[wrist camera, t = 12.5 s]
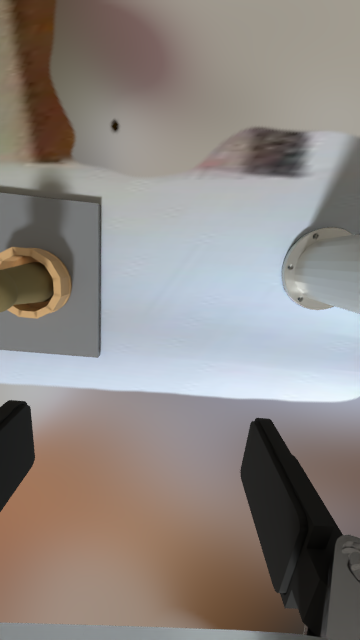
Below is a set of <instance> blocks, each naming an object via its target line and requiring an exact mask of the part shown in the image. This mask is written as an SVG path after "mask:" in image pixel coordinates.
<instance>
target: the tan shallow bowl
mask: <svg viewBox="0 0 360 640" xmlns="http://www.w3.org/2000/svg"><path fill="white" fill-rule="evenodd" d="M31 262H40V263H42V264H43V265H45V267H46V268H47V270H48V272H49V273H50V275H51V277H52V278H53V287H54V295H53V297H52V298H51V300H50V301H46V302H38V303H27V304H17V305H13V306H12V307H11V308H9V309H7V310H8V311H10V312H11V313H13V314H15V315H16V316H18V317H25V318H36V319H37V318H40V317H42V316H44V315H47V314H49V313H52V312H55V311H57V310H59V309H60V308H62V307H63V306H64V305H65V304H66V303H67V301H68V300H69V298H70V295H71V291H72V280H71V276H70V273H69V271H68V269H67V267H66V266H65V264H64V263H63V262H62V261H61V260H60V259H59V258H58V257H57V256H55V255H54V254H52V253H51V252H49V251H46V250H43V249H39V248H22V247H11V248H9V249H7V250H5V251H3V252H1V253H0V270H2V269H6V268H11V267H15V266H19V265H23V264H27V263H31Z"/></svg>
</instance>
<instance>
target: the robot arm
mask: <svg viewBox="0 0 360 640" xmlns="http://www.w3.org/2000/svg"><path fill="white" fill-rule="evenodd" d="M288 265H289V268H288ZM282 282H283V286H284V289H285V291H286V293H287V295H288V296H289V297H290V299H291V300H292V301H293V302H295V303H296V304H298V305H300V306H302V307H304V308H308V309H312V310H324V309H328V308H332V307H334V306H335V307H338V308H342V309H345V310H348V311H352V312H355V313H359V314H360V234H355V235H353V234H351V233H350V232H348V231H346V230H344V229H340V228H336V227H328V228H322V229H318V230H315V231H312V232H310V233H308V234H306V235H304V236H303V237H302V238H300V239H299V240H298V241H297V242H296V243H295V244H294V245H293V246H292V248H291V249H290V251H289V252H288V254H287V256H286V258H285V260H284V264H283V268H282ZM298 297H299V299H298ZM34 459H35V453H34V442H33V431H32V420H31V409H30V406H28V405H27V403H26V402H25V401H12V400H10V401H7V402H6V403H5V404H3V406H1V407H0V512H1V510H2V509H3V507H4V506H5V505H6V503H7V502H8V500H9V498H10V497H11V496H12V494H13V493H14V491H15V490H16V488H17V487H18V486H19V484H20V483H21V482H22V480H23V478H24V477H25V476H26V474H27V473H28V471H29V470H30V469H31V467H32V465H33V463H34ZM241 479H242V483H243V486H244V490H245V493H246V497H247V500H248V503H249V506H250V510H251V513H252V517H253V520H254V523H255V527H256V530H257V534H258V537H259V540H260V544H261V546H262V550H263V554H264V557H265V560H266V563H267V567H268V570H269V574H270V577H271V580H272V584H273V586H274V589H275V591H276V592H277V593H280V594H281V597H282V601H283V604H284V607H285V608H297V609H299V613H300V615H301V618H302V621H303V623H304V624H305V629H304V635H300V634H290V633H273V632H258V631H242V630H217V629H191V628H164V627H163V628H162V627H134V626H101V625H69V624H68V625H66V624H34V623H33V624H32V623H0V640H360V538H358V537H355V536H351V535H343V534H342V533H341V531H340V530H339V528H338V526H337V525H336V523H335V521H334V520H333V518H332V516H331V515H330V513H329V511H328V510H327V508H326V506H325V505H324V503H323V501H322V500H321V498H320V497H319V495H318V493H317V492H316V490H315V488H314V487H313V485H312V483H311V482H310V480H309V479H308V477H307V475H306V473H305V472H304V470H303V468H302V467H301V466H300V464H299V462H298V460H297V459H296V458H295V457H294V456H293V455H292V454H291V453H290V451H289V449H288V448H287V446H286V444H285V442H284V441H283V439H282V438H281V436H280V434H279V432H278V431H277V429H276V427H275V426H274V424H273V422H272V421H271V420H270V419H263V418H256V419H255V421H252V422H251V425H250V429H249V434H248V438H247V443H246V448H245V452H244V457H243V461H242V466H241Z"/></svg>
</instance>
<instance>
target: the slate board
mask: <svg viewBox="0 0 360 640" xmlns="http://www.w3.org/2000/svg"><path fill="white" fill-rule="evenodd" d="M11 247H22V248H39V249H43V250H46V251H49V252H51V253H52V254H54V255H55V256H57V257H58V258H59V259H60V260H61V261H62V262H63V263H64V264H65V266H66V267H67V269H68V271H69V273H70V276H71V280H72V291H71V295H70V298H69V300H68V301H67V303H66V304H65V305H64V306H63V307H62V308H60V309H59V310H57V311H55V312H52V313H49V314H47V315H44V316H42V317H40V318H37V319H36V318H25V317H18V316H16V315H15V314H13V313H11V312H10V311H8V310H6V311H4V312H0V350H10V351H23V352H35V353H47V354H60V355H72V356H84V357H97V358H98V357H99V356H100V205H99V204H98V203H90V202H81V201H72V200H63V199H54V198H45V197H36V196H27V195H18V194H9V193H0V253H1V252H3V251H5V250H7V249H9V248H11Z"/></svg>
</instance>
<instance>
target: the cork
mask: <svg viewBox="0 0 360 640" xmlns="http://www.w3.org/2000/svg"><path fill="white" fill-rule="evenodd" d="M53 295H54V287H53V278H52V277H51V275H50V273H49V272H48V270H47V268H46V267H45V265H43V264H42V263H40V262H31V263H27V264H23V265H19V266H15V267H11V268H6V269H2V270H0V312H4V311H6V310H7V309H9V308H11V307H12V306H13V305H17V304H27V303H38V302H46V301H50V300H51V298H52V297H53Z"/></svg>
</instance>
